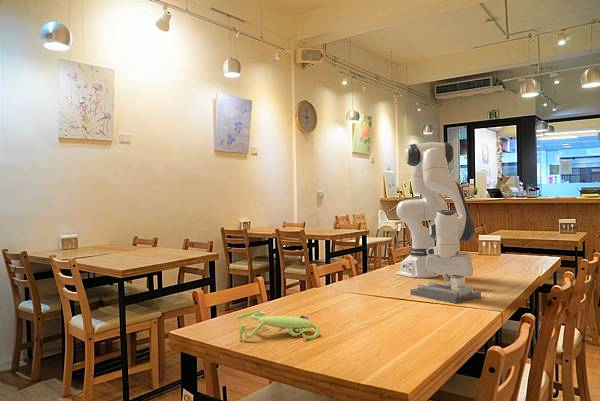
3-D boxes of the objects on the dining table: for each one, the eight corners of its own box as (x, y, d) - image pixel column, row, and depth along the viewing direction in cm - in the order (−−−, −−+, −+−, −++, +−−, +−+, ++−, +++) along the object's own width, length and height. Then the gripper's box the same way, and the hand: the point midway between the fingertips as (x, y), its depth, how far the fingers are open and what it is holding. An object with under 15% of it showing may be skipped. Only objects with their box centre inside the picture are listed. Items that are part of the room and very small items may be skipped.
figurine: (241, 325, 151) (240, 309, 151) (320, 323, 150) (319, 306, 150) (229, 343, 132) (228, 324, 132) (319, 341, 131) (319, 322, 131)
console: (410, 294, 186) (410, 282, 186) (435, 288, 195) (435, 277, 195) (455, 303, 168) (454, 290, 168) (481, 296, 177) (480, 284, 177)
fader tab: (451, 293, 176) (450, 275, 176) (459, 291, 179) (458, 274, 179) (457, 294, 173) (457, 276, 173) (465, 292, 176) (465, 275, 176)
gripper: (475, 251, 172) (477, 287, 172) (433, 248, 189) (434, 280, 189) (465, 253, 169) (467, 290, 169) (423, 249, 186) (424, 282, 186)
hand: (449, 285), depth 179 cm, fingers closed
